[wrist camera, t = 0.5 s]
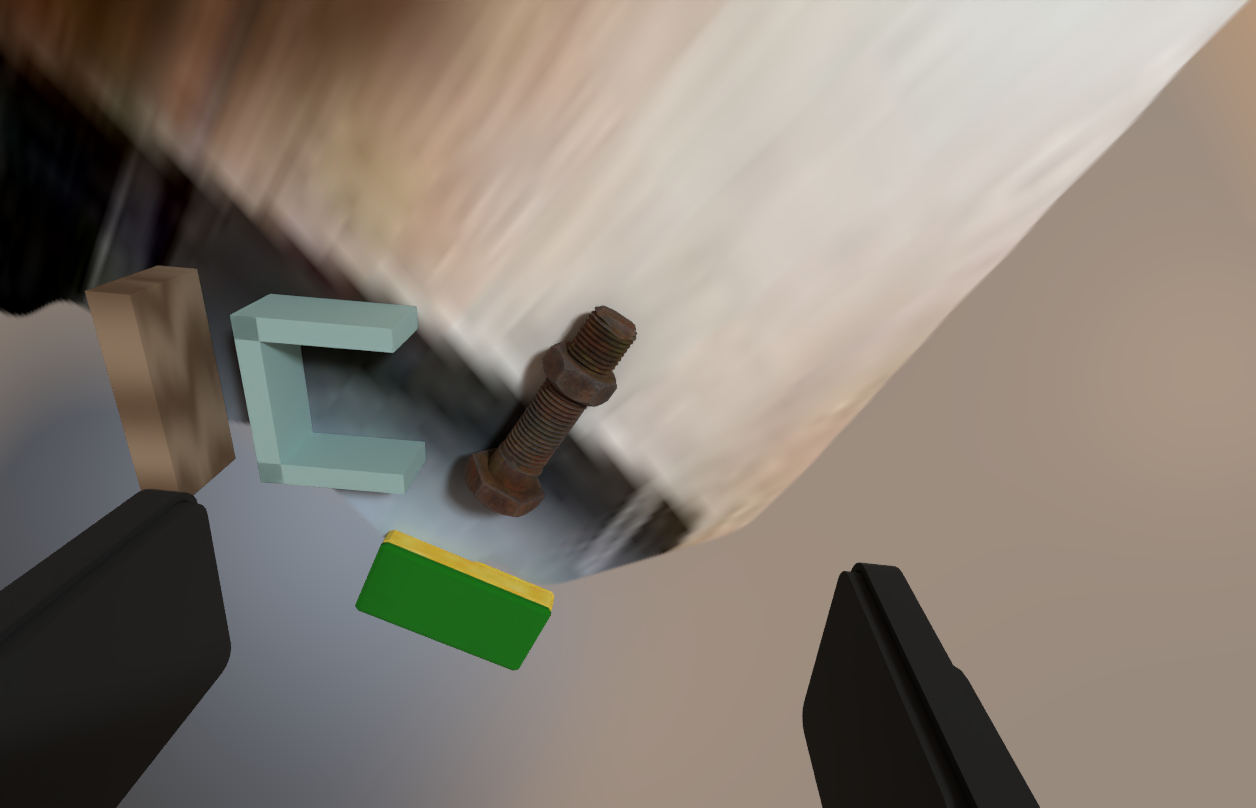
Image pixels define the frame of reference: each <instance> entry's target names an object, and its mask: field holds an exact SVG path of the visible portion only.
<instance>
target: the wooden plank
mask: <svg viewBox="0 0 1256 808" xmlns="http://www.w3.org/2000/svg"><path fill="white" fill-rule="evenodd" d="M85 293H86V297H87V300H88V304H89V307H90V311H91V315H92V318H93V322H94V325H95V329H96V332H97V336H98V339H99V342H100V346H101V350H102V354H103V357H104V361H105V364H106V368H107V372H108V375H109V379H110V382H111V386H112V389H113V393H114V396H115V400H116V404H117V407H118V411H119V414H120V417H121V421H122V425H123V429H124V432H125V436H126V439H127V443H128V446H129V450H130V453H131V457H132V460H133V464H134V468H135V471H136V475H137V478H138V482H139V485H140V489H141V491H142V490H144V489H158V490H168V491H178V492H187V493H190V494H192V495H194V494H195V493H197V492H198V491H199V490H200V489H201V488H202V487H204V486H205V485H206V484H207V483H208V482H209V481H210V480H212V479H213V478H214V477H215V476H216V475H217V474H218V473H220V472H221V471H222V470H223V469H224V468H225V467H227V466H228V465H229V464H230V463H231V462H232V461H233V460H234V459H235V454H234V449H233V443H232V438H231V433H230V429H229V424H228V419H227V414H226V409H225V404H224V399H223V394H222V389H221V384H220V379H219V374H218V369H217V365H216V360H215V355H214V350H213V345H212V340H211V335H210V330H209V325H208V320H207V315H206V310H205V305H204V301H203V296H202V291H201V286H200V281H199V276H198V271H197V269H192V268H180V267H169V266H155V267H153V268H150V269H147V270H144V271H141V272H138V273H135V274H132V275H129V276H127V277H124V278H121V279H118V280H115V281H112V282H109V283H106V284H103V285H101V286H98V287H95V288H92V289H89V290H86V291H85Z"/></svg>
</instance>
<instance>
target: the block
mask: <svg viewBox="0 0 1256 808" xmlns="http://www.w3.org/2000/svg"><path fill="white" fill-rule="evenodd" d="M230 319H231V324H232V329H233V335H234V340H235V345H236V351H237V356H238V361H239V367H240V372H241V377H242V383H243V388H244V393H245V399H246V404H247V409H248V415H249V420H250V425H251V431H252V436H253V441H254V447H255V451H256V457H257V462H258V468H259V473H260V479H261V482H267V483H278V484H290V485H302V486H313V487H326V488H336V489H348V490H360V491H371V492H383V493H395V494H405V493H406V491H407V490H408V488H409V486H410V485H411V483H412V482H413V480H414V478H415V477H416V475H417V474H418V472H419V470H420V469H421V467H422V466H423V464H424V462H425V461H426V453H425V442H420V441H408V440H397V439H385V438H373V437H362V436H350V435H338V434H327V433H315V432H313V430H312V423H311V416H310V409H309V402H308V395H307V388H306V381H305V374H304V367H303V360H302V353H301V346H300V345H308V346H320V347H331V348H343V349H355V350H366V351H378V352H390V353H394V352H395V351H396V350H397V349H398V348H399V347H400V346H401V345H402V344H403V343H404V342H405V341H406V340H407V339H408V338H409V337H410V336H411V335H412V334H413V333H414V332H415V331H416V330H417V329H418V323H417V307H416V306H405V305H393V304H381V303H370V302H358V301H346V300H335V299H323V298H311V297H300V296H288V295H277V294H269V295H267V296H265V297H263V298H262V299H260V300H258V301H256V302H254V303H252V304H250V305H248V306H246V307H244V308H242V309H240V310H239V311H237V312H235V313H233V314H231V315H230Z"/></svg>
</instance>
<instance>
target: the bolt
mask: <svg viewBox="0 0 1256 808" xmlns="http://www.w3.org/2000/svg"><path fill="white" fill-rule="evenodd" d="M586 323H587V324H584V325H583V327H584V328H581V329H580V331H581V332H578V336H575V338H574V339H575V340H573V341H572V343H571V342H561V343H558V344H555V345H553V346H551V348H550V349H549V351H548V352H547V354H546V355H545V357H544V358H543V368H544V372H545V375H546V376H547V378H546V381H545V382H544V383H543V385H542V386H541V389H539V390H538V393H537V394H536V395H535V397H534V398H533V400H532V401H531V402H530V404H529V405H528V407H527V408H526V409H525V412H524V413H523V414H522V416H521V417H520V419H519V420H518V421H517V423H516V424H515V426H514V427H513V428H512V430H511V432H510V433H509V435H508V436H507V438H506V439H505V440H504V441H503V442H502V443H501V444H500V445H499V447H498V448H493V449H489V450H484V451H480V452H476V453H472V454H471V456H470V457H469V459H468V460H467V462H466V464H465V465H464V467H465V480H466V483H467V486H468V488H469V490H470V491H471V492H472V493H473V495H474V496H475V497H476V498H477V499H478V500H479V501H480V502H481V503H482V504H483V505H484V506H485V507H487V508H488V509H490V510H492V511H494V512H496V513H499V514H502V515H507V516H512V517H520V516H523V515H525V514H527V513H529V512H530V511H532V510H533V509H535V508H536V507H537V506H538V505H539V504H540V502H541V501H542V500H543V498H544V497H545V493H544V491H543V489H542V487H541V485H540V482H539V480H538V477H539V475H540V474H541V472H542V471H543V467H544V466H545V465H546V463H547V462H548V460H549V459H550V458H551V456H552V455H553V453H554V452H555V451H556V449H557V448H558V447H559V445H560V444H561V443H562V441H563V440H564V439H565V436H567V434H568V432H569V431H570V429H571V428H572V427H573V425H574V424H575V423H576V421H577V420H578V418H579V417H580V416H581V414H582V413H583V411H584V410H585V409H586V407H587V406H592V407H594V406H598V405H601V404H603V403H604V402H606V401H608V400H609V398H610V397H611V396H612V394H613V393H614V391H615V390H616V389H617V384H616V379H615V375H614V373H613V372H612V370H613V369H615V366H616V365H618V361H621V357H623V356H624V353H626V352H627V349H628V348H630V345H631V344H633V341H635V340H636V334H637V332H636V331H635V330H636V328H635V325H634V324H633V323H632V322H631V321H630V320H628V319H627V318H625V317H624V316H622V315H621V314H619V313H618V312H616V311H614V310H613V309H610V308H608V307H606V306H600V307H595V311H592V315H590V316H589V319H587V320H586Z"/></svg>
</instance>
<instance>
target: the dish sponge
mask: <svg viewBox="0 0 1256 808" xmlns="http://www.w3.org/2000/svg"><path fill="white" fill-rule="evenodd" d="M553 601H554V595H553V593H552V592H551V591H549V590H546V589H544V588H541V587H539V586H537V585H534V584H532V583H529V582H527V581H525V580H522V579H520V578H517V577H515V576H512V575H510V574H508V573H505V572H503V571H500V570H498V569H496V568H493V567H491V566H488V565H486V564H484V563H481V562H472V561H469V560H467V559H465V558H462V557H460V556H457V555H455V554H452V553H450V552H448V551H445V550H443V549H440V548H438V547H435V546H433V545H431V544H428V543H426V542H423V541H421V540H418V539H416V538H414V537H411V536H409V535H406V534H404V533H401V532H399V531H397V530H393V531H389V533H388V534H387V536H386V538H385V539H384V541H383V543H382V544H381V546H380V548H379V551H378V553H377V555H376V558H375V560H374V562H373V565H372V567H371V569H370V572H369V574H368V576H367V579H366V581H365V583H364V586H363V588H362V591H361V593H360V595H359V598H358V600H357V602H356V605H355V606H356V608H357V609H358V610H359V611H361V612H364V613H367V614H369V615H372V616H374V617H377V618H379V619H382V620H384V621H387V622H390V623H392V624H395V625H397V626H400V627H402V628H405V629H408V630H410V631H413V632H415V633H418V634H421V635H423V636H426V637H428V638H431V639H433V640H436V641H438V642H441V643H443V644H446V645H449V646H451V647H454V648H456V649H459V650H462V651H464V652H467V653H469V654H472V655H474V656H477V657H480V658H482V659H485V660H487V661H490V662H492V663H495V664H498V665H500V666H503V667H505V668H508V669H511V670H518V669H519V668H520V666H521V664H522V662H523V661H524V659H525V658H526V656H527V654H528V653H529V650H530V649H531V648H532V646H533V644H534V642H535V641H536V639H537V637H538V636H539V634H540V632H541V631H542V629H543V627H544V626H545V624H546V622H547V621H548V619H549V617H550V616H551V610H552V606H553Z"/></svg>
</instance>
